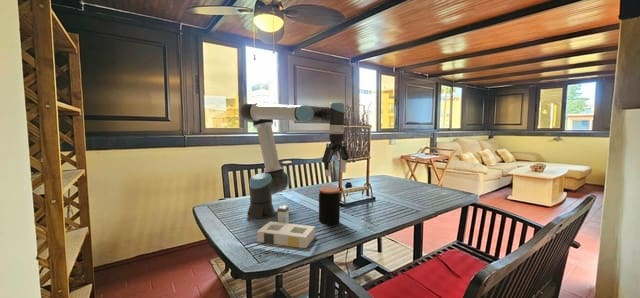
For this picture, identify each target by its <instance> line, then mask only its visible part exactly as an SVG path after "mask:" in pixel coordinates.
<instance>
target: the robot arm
mask: <svg viewBox="0 0 640 298" xmlns="http://www.w3.org/2000/svg"><path fill="white" fill-rule="evenodd" d="M345 111H346V110H345V104H344V103H343V102H330V103H329V106H314V105H307V104H303V105H293V104H289V105H288V104H270V103H268V102H264V101H250V100H249V101H246V102H244V103H242V105H240V108H239V114H240V117H241V118H242V119H243V121H245V122H248V123H252V124H253V128H255V129H256V132H257V136H258V141H259V145H260V150H261V154H262V158H263V159H262V161H263V163H264V171H263V172H261V173H256V174H254V175H251V177H250V178H249V200H250V201H249V207H248V210H247V214H246V218H247V220H248V221H252V220H266V219H270V218H273V217H275V216H276V211H275V207H274V204H273V200H272V199H273V195H275V194H278V193H282V192H283V191H285V190H286V189H287V188H288V187H289V184H290V178H289V175H288V174H287V172H285V171H284V167H283V166H281V165H280V160H279V156H278V151H277V146H276V141H275V138H274V137H275V136H274V133H273V132H274V131H273V127H272V126H273V124H274V121H294V122H295V121H297V122H303V123H304V122H306V123H307V122H329V128H328V129H329V130H328V132H329V135H328V137H329V138H328V140H329V143H328V142H327V143H326V145H325V150H324V153H323V157H322V159H321V163H324V176H325V177H331V163H330V162H331V160H332V159H333V156H334V155H335V153H336V152H338V154H339V156H340V158H341V160H340V173H344V174H345V173H346V169H347V168H346V167H347V161H349V157H350V156H349V152H348V149H347V148H348V147H347V142H345V141H344V140H345V134H344V133H345V117H346V116H345Z"/></svg>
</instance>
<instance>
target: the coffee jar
mask: <svg viewBox="0 0 640 298" xmlns="http://www.w3.org/2000/svg"><path fill="white" fill-rule="evenodd" d="M318 191H319V192H318V222H319V223H321V224H324V225H327V227H336V226H338V225H339V223H340V218H341V217H340V216H341V215H340V211H341V210H340V209H341V207H340V206H341V204H340V202H341V201H340V200H341V198H340V197H341V194H340V188H339V187H338V186H337V187H336V186H322V187H319V188H318Z"/></svg>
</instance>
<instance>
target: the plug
mask: <svg viewBox="0 0 640 298" xmlns="http://www.w3.org/2000/svg"><path fill="white" fill-rule="evenodd" d="M289 209H290V208H289V205H285V204H283V205H279V206H277V209H276V211H277V222H280V223H290V219H289V218H290V210H289Z"/></svg>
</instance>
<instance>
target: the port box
mask: <svg viewBox="0 0 640 298" xmlns="http://www.w3.org/2000/svg"><path fill="white" fill-rule="evenodd" d="M289 223H290V222H289ZM289 223H280V222H278V221H268V222H267V223H266V224H264V225H263V226H262V227H261V228H260V229H258V230H257V231H256V234H257V235H256V240H257V242H258V243H257V245H258V246H264V247H269V248H270V247H271V248H278V249H284V250H285V249H286V250H291V251H292V250H293V251H299V252H305V253H307V250H305V249H307V248H308V247H309V246H310V244H311V242H312V241H313V240H314V238H315V237H316V226H313V225H305V224H297V223H290V224H289ZM262 243H264V244H262ZM270 244H271V245H270ZM272 244H273V245H272ZM277 245H279V246H277ZM280 245H281V246H280ZM282 246H286V247H282ZM290 247H293V248H290ZM297 248H301V249H297ZM303 249H304V250H303Z"/></svg>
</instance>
